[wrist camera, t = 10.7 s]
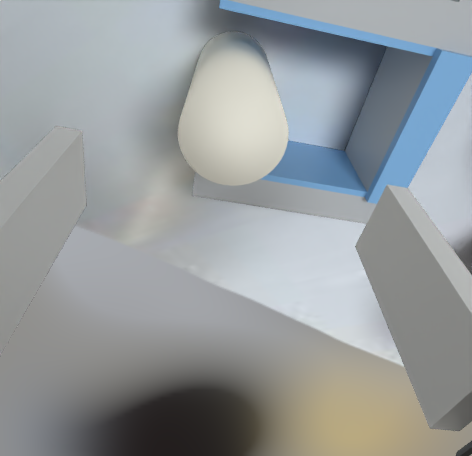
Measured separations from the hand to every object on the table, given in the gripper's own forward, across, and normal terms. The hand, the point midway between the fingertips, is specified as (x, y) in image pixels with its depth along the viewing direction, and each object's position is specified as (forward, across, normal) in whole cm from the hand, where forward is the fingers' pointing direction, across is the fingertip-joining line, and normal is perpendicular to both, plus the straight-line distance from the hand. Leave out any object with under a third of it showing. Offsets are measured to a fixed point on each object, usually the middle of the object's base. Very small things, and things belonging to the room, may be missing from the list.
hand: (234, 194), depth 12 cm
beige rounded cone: (+16, 0, 0) cm, 16 cm away
